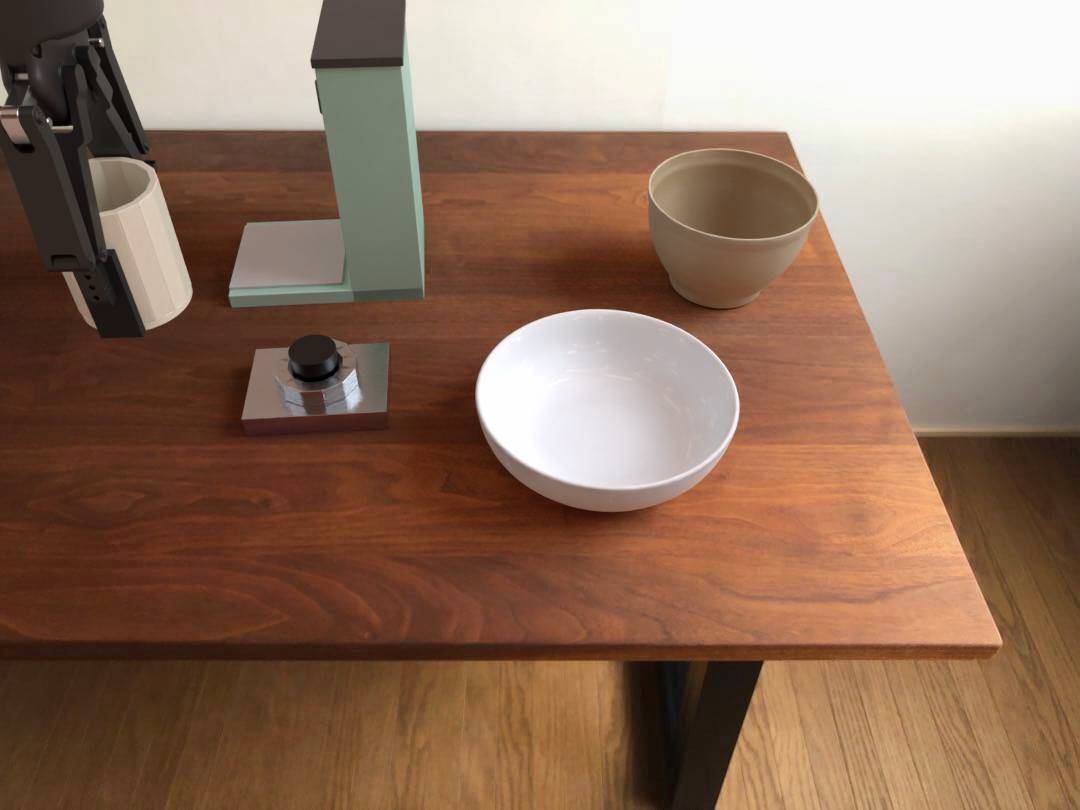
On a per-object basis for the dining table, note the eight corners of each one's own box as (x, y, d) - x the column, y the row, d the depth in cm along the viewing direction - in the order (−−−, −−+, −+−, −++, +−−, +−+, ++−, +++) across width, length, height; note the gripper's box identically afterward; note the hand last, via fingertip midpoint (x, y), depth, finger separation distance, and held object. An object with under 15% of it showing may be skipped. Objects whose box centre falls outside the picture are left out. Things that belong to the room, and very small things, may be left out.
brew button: (289, 384, 75) (285, 366, 74) (294, 353, 78) (290, 335, 77) (337, 381, 76) (334, 363, 74) (341, 350, 79) (337, 332, 77)
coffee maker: (231, 309, 88) (159, 63, 71) (250, 233, 98) (190, -1, 80) (426, 300, 90) (402, 56, 72) (426, 226, 99) (405, -5, 82)
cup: (67, 335, 60) (14, 220, 53) (98, 269, 65) (53, 157, 59) (180, 332, 60) (141, 217, 54) (202, 266, 65) (168, 155, 59)
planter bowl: (647, 333, 86) (659, 238, 79) (630, 238, 98) (639, 147, 90) (811, 332, 87) (839, 238, 79) (776, 238, 98) (797, 147, 91)
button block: (246, 437, 76) (236, 404, 73) (260, 366, 82) (251, 333, 80) (389, 429, 77) (383, 396, 74) (391, 360, 83) (387, 326, 80)
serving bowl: (752, 540, 69) (769, 482, 64) (481, 553, 68) (477, 495, 63) (699, 360, 84) (710, 302, 79) (476, 369, 82) (473, 310, 78)
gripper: (13, 22, 39) (160, 395, 55) (129, -113, 54) (219, 214, 70) (-165, 24, 39) (35, 400, 55) (0, -112, 53) (121, 217, 69)
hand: (138, 296), depth 62 cm, fingers closed on cup, 7 cm apart
